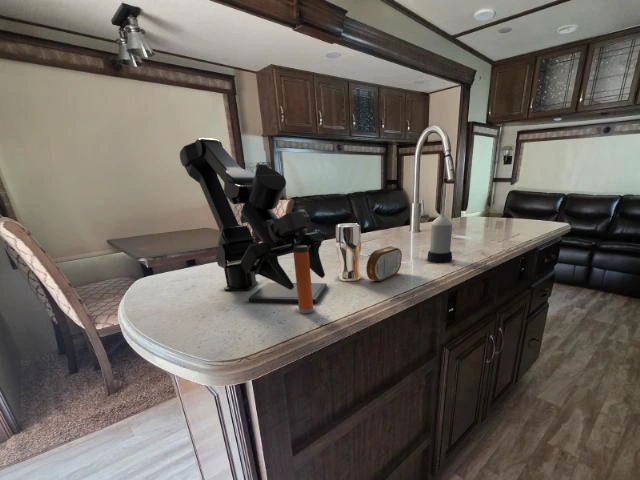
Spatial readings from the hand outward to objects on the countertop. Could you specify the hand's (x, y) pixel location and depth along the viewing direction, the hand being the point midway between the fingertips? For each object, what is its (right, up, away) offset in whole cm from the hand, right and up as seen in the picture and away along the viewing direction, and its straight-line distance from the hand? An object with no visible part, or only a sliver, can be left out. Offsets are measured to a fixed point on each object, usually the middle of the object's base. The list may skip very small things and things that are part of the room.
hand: (308, 282), depth 65 cm
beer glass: (+7, +2, +25) cm, 27 cm away
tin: (+17, +3, +26) cm, 31 cm away
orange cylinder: (-1, -6, +3) cm, 7 cm away
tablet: (-7, -2, +14) cm, 15 cm away
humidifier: (+37, +10, +44) cm, 58 cm away
